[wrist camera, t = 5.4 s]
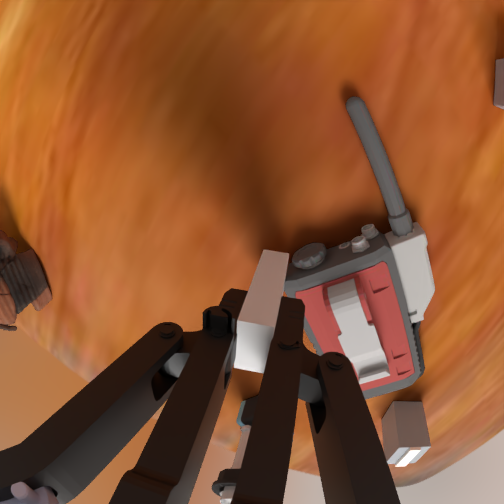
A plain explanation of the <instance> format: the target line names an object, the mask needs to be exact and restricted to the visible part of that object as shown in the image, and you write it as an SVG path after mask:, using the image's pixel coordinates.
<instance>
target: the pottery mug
mask: <svg viewBox="0 0 504 504" xmlns="http://www.w3.org/2000/svg"><path fill="white" fill-rule="evenodd" d="M17 247H18V242H17V240H15V239H13V238H11V237H7V235H6V234H5V232H3V231H2V230H0V329H3V330H8V331H16V330H17V327H16V326H8V325H10V324H13V323H15V320H16V318H17V314H19V313H20V312H21V311H23V309H24V308H25V307H27V306H28V304H29V303H32V305H33V306H34V307H35V310H37V311H40V310H41V309H43V308H44V306H45V305H46V304H47V303H48V302H49V301H51V300H52V295H51V292H50V290H49V287H48V285H47V282H46V280H45V275H44V273H43V271H42V268H41V266H40V263H39V261H38V259H37V257H36V255H35V253H34V250H33V249H30V250H27V251H26V252H21V253H19V254H15V253H16V250H17Z"/></svg>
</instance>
